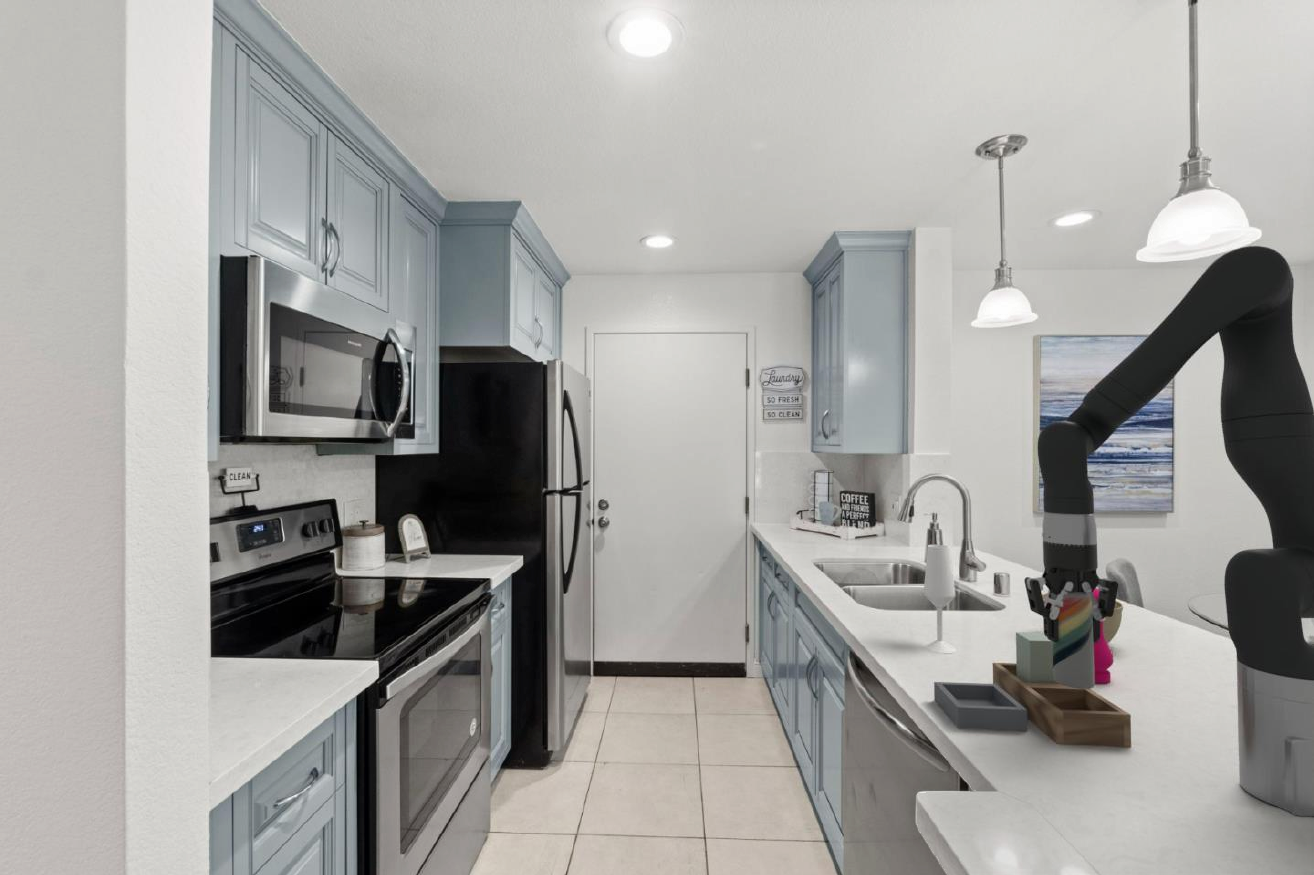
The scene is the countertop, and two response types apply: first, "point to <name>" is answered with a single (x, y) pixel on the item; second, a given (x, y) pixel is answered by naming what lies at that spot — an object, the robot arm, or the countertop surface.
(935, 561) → the champagne flute
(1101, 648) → the pepper mill
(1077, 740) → the frame
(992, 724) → the tray
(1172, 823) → the countertop surface
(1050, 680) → the grey-green block
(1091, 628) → the lotion bottle
